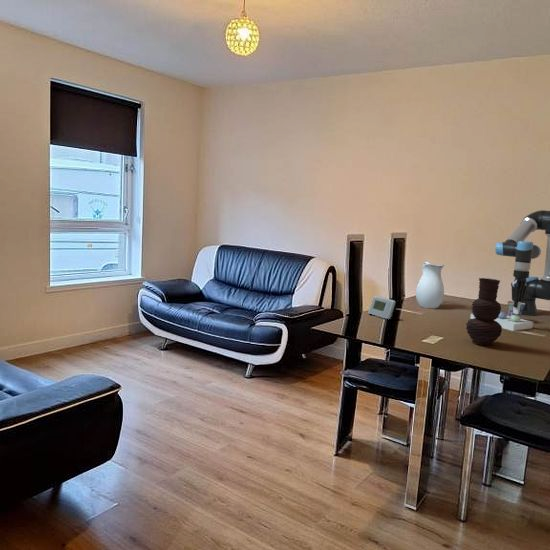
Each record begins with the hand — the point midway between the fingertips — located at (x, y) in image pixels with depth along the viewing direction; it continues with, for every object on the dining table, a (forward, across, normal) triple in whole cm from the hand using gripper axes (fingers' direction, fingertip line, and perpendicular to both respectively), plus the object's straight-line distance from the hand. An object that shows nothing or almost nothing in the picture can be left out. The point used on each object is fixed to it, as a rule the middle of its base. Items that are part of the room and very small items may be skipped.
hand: (515, 313), depth 265 cm
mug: (+8, -18, -11) cm, 23 cm away
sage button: (+6, 0, 0) cm, 6 cm away
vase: (+8, +50, +15) cm, 53 cm away
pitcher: (+8, +1, -59) cm, 60 cm away
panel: (+8, 0, -8) cm, 11 cm away
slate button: (+6, 0, -8) cm, 10 cm away
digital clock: (+8, +57, -43) cm, 72 cm away
